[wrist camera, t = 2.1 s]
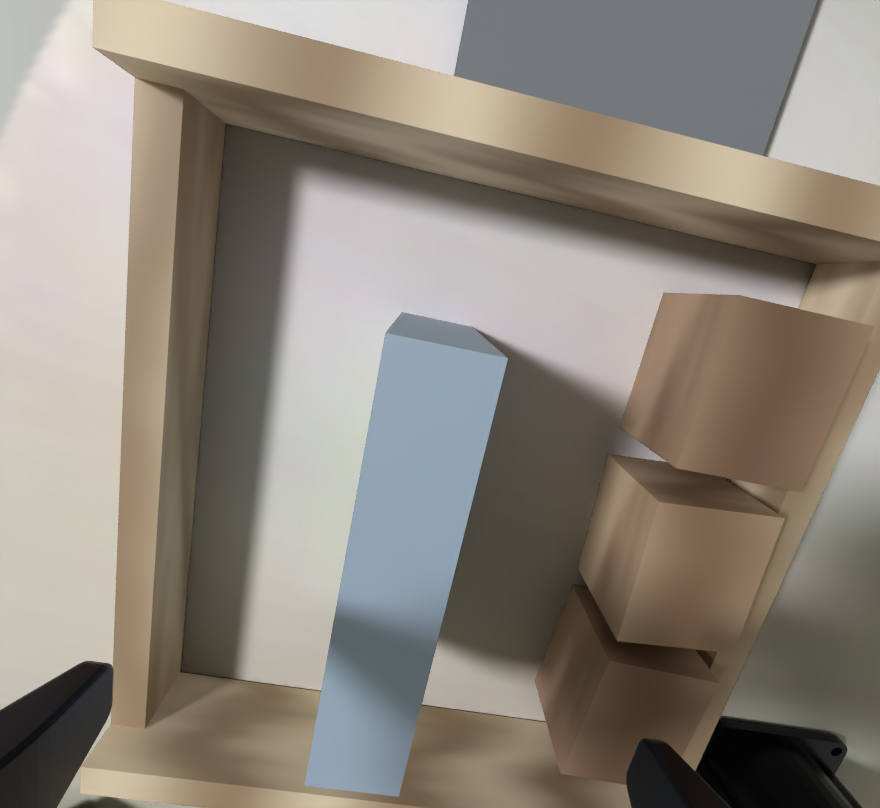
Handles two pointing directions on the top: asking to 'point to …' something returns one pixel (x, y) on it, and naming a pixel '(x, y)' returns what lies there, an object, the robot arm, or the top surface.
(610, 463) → the offcut
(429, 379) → the light blue rectangular panel
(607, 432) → the top surface
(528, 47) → the mat
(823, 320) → the offcut
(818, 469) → the frame
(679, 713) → the offcut
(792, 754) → the robot arm
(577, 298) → the top surface
